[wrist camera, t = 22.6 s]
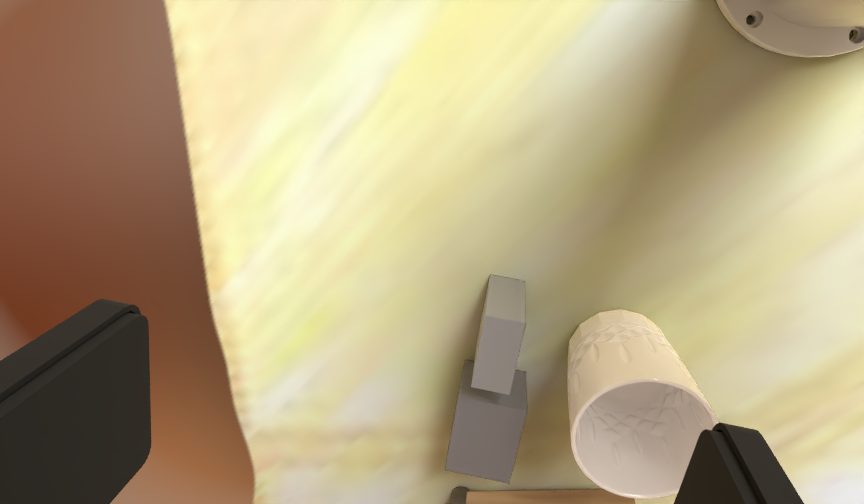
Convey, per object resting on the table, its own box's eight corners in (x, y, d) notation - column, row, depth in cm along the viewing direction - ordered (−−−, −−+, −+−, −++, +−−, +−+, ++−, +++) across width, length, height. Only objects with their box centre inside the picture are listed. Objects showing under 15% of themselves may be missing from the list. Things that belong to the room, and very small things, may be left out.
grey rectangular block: (525, 371, 44) (527, 410, 39) (509, 438, 46) (509, 483, 41) (465, 358, 44) (459, 397, 39) (452, 426, 46) (444, 469, 41)
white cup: (594, 281, 41) (618, 354, 31) (698, 331, 41) (752, 419, 31) (539, 371, 43) (545, 462, 34) (636, 417, 44) (668, 520, 34)
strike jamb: (524, 280, 41) (525, 323, 35) (510, 344, 43) (509, 394, 37) (490, 274, 41) (485, 315, 35) (477, 337, 43) (471, 387, 37)
